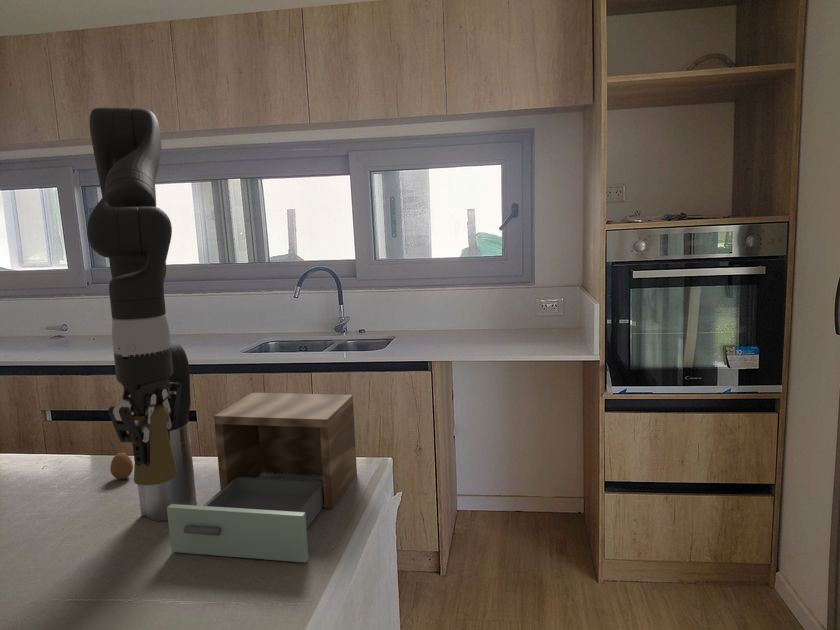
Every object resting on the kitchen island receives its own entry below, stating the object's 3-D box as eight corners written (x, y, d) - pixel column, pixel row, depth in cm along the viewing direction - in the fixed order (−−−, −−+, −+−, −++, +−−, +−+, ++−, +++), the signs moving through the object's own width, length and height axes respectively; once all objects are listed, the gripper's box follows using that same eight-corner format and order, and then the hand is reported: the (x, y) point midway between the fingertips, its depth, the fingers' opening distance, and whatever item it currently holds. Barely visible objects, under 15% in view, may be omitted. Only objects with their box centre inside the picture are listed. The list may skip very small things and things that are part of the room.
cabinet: (221, 502, 117) (213, 415, 114) (258, 469, 132) (252, 392, 129) (332, 509, 112) (327, 419, 109) (356, 474, 128) (352, 394, 125)
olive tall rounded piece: (161, 486, 84) (154, 413, 82) (124, 484, 85) (116, 411, 84) (186, 469, 90) (179, 400, 88) (151, 467, 91) (144, 399, 90)
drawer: (166, 556, 97) (161, 511, 96) (233, 494, 119) (230, 457, 118) (302, 567, 93) (299, 520, 92) (346, 501, 115) (344, 462, 114)
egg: (127, 482, 128) (124, 456, 127) (107, 483, 128) (104, 457, 127) (137, 474, 132) (135, 448, 131) (118, 474, 132) (115, 449, 131)
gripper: (150, 336, 92) (160, 440, 95) (83, 357, 78) (97, 478, 81) (193, 337, 91) (202, 443, 93) (132, 358, 77) (145, 481, 80)
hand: (153, 458), depth 87 cm, fingers closed on olive tall rounded piece, 4 cm apart
